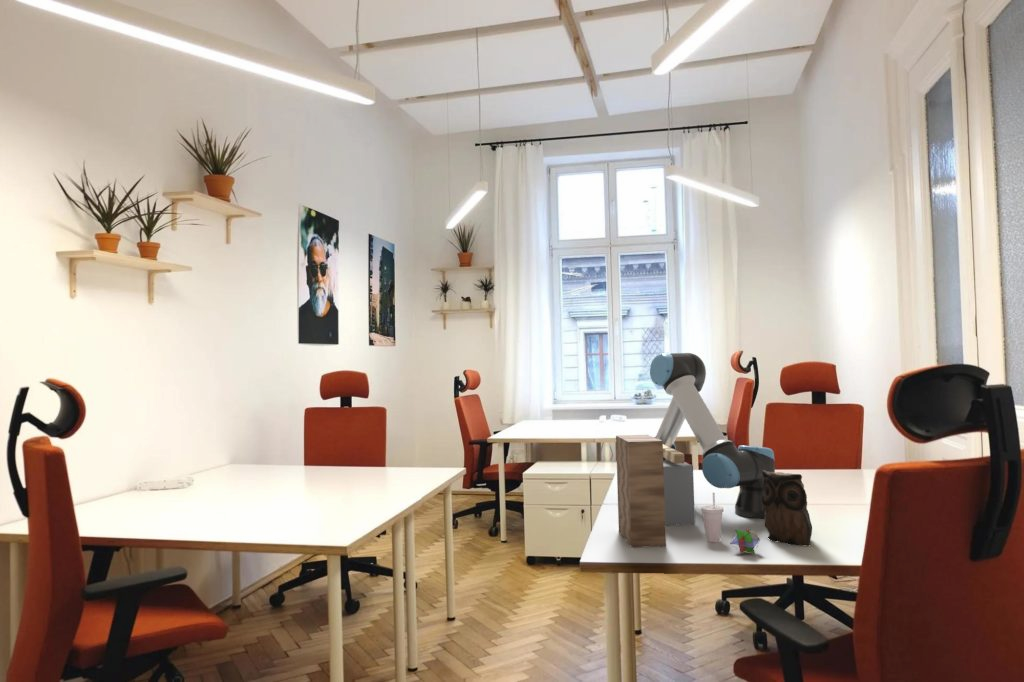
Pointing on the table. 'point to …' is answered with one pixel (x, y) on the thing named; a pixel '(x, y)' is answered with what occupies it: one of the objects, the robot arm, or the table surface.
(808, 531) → the owl
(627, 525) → the tall wooden pillar
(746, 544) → the geometric puzzle
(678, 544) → the table surface
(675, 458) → the notched wooden bar
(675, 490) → the block
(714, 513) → the smoothie
